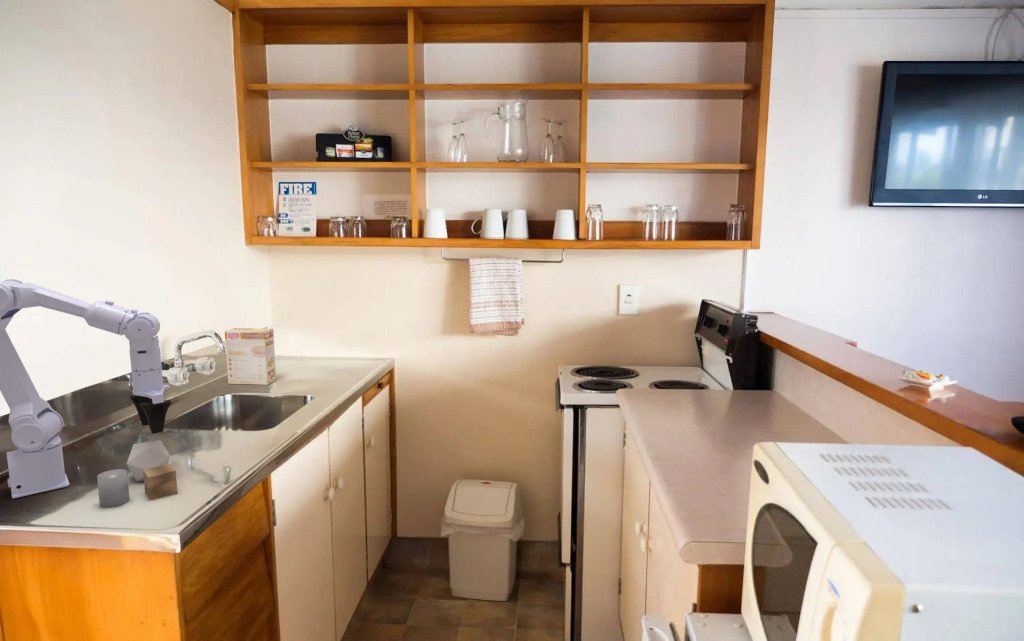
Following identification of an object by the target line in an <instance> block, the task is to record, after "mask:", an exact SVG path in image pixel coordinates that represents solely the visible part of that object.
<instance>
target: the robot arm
mask: <svg viewBox="0 0 1024 641" xmlns="http://www.w3.org/2000/svg"><path fill="white" fill-rule="evenodd" d="M114 303H115V302H114V301H112V300H110V299H107V300H105V301H102V300H98V301H96V302H93V303H90V302H86V301H84V300H81V299H78V298H75V297H72V296H70V295H68V294H67V295H66V294H64V293H61V292H58V291H56V290H53V289H50V288H46V287H44V286H41V285H39V284H38V285H37V284H35V283H30V282H23V281H21V280H18V279H14V278H11V279H5V280H2V281H1V280H0V393H1V394H2V397H3V399H4V400H5V402H6V404H7V407H8V408H9V415H8V416H9V417H8V424H9V426H10V429H11V435H10V437H11V441H12V443H13V445H14V446H15V447H17V449H14V450H11V451H7V452H6V460H7V467H8V475H9V477H8V478H7V484H8V485H7V486H8V488H10V492H11V498H12V499H17V498H21V497H25V496H26V497H27V496H31V495H35V494H39V493H44V492H48V491H53V490H57V489H61V488H62V489H63V488H66V487H69V486H70V481H69V478H68V475H67V473H66V471H65V463H64V453H63V444H62V443H63V442H62V439H61V437H60V436H59V434H60V433H61V431H62V430H63V429H64V428H63V427H64V418H63V417H62V416H61V414H60V413H59V412H57V411H56V410H54V409H53V408H52V406H51V405H50V403H49V401H47V400H45V399H44V398H42V397H41V396H40V394H39V392H38V390H37V389H36V387H35V384H34V383H33V381H32V378H31V376H30V375H29V373H28V370H26V367H25V366H24V363H23V362H22V360H21V357H20V355H19V354H18V352H17V349H16V348H15V346H14V344H13V342H12V339H11V338H10V336H9V334H8V332H7V330H6V328H7V327H8V325H9V323H10V322H11V321H12V319H13V318H14V316H15V315H16V314H17V313H18V312H20V311H21V310H22V309H28V308H35V307H42V308H44V309H45V308H46V309H48V310H52V311H56V312H61V313H64V314H68V315H71V316H75V317H79V318H83V319H84V320H85V323H87V325H88V326H89V327H92V328H95V329H98V330H102V331H105V332H109V333H111V334H115V335H119V336H124V337H125V338H126V339H127V340H128V342H129V343H128V344H129V359H130V368H131V370H130V371H131V380H132V390H131V392H132V394H131V395H129V397H128V398H129V400H130V401H131V402H132V403H133V405H134V407H135V409H136V411H137V414H138V417H139V421H140V423H141V426H142V427H145V426H149V430H150V433H151V434H154V435H155V434H160V433H163V432H164V429H165V425H166V424H165V423H166V416H167V413H168V410H169V408H170V405H171V404H172V401H171V400H170V399H164V392H165V390H170V385H169V384H164V376H163V367H162V356H161V347H160V341H159V335H158V334H159V332H160V330H161V323H160V320H159V319H158V318H157V317H156V316H155V315H153V314H152V313H150V312H147V311H146V312H145V311H144V312H139V311H138V309H136V308H132V309H128V308H124V307H122V306H119V305H115V304H114ZM138 312H139V313H138Z"/></svg>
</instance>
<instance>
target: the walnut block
mask: <svg viewBox="0 0 1024 641" xmlns="http://www.w3.org/2000/svg"><path fill="white" fill-rule="evenodd" d="M143 476H144V480H143V485H144V486H143V487H144V493H145V494H146V496H147V498H148V500H149V501H152V500H156V499H161V498H165V497H169V496H173V495H177V494H178V484H177V482H178V481H177V471H176V469H175V468H174V467H173V466H172V465H171V463H168V464H167V465H163V466H158V467H154V468H149V469H145V470H143Z"/></svg>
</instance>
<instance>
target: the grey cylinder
mask: <svg viewBox="0 0 1024 641" xmlns="http://www.w3.org/2000/svg"><path fill="white" fill-rule="evenodd" d="M96 479H97V489H98V498H99V499H98V500H99V501H98V502H99V506H100V508H103V509H114V508H117V507H121V506H123V505H126V504H127V503H129V501H130V498H131V497H130V489H129V478H128V470H126V469H123V468H116V469H110V470H106V471H103V472H101V473H99V474H98V475H96Z"/></svg>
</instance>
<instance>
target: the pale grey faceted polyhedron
mask: <svg viewBox="0 0 1024 641" xmlns="http://www.w3.org/2000/svg"><path fill="white" fill-rule="evenodd" d="M170 459H171V455H170V453H169V451H168V450H167V448H166V447H165V446H164V444H163V442H162V441H161V439H156V440H151V441H145V442H144V441H143V442H138V443H133V445H132V447H131V450H130V453H129V456H128V459H127V462H126V466H127V467H128V469H129V471H130V473H131V474H132V476H133V477H134V479H135V481H136V482H137V483H138V482H144V476H143V470H145V469H149V468H154V467H158V466H163V465H167V464H169V462H170Z"/></svg>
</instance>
